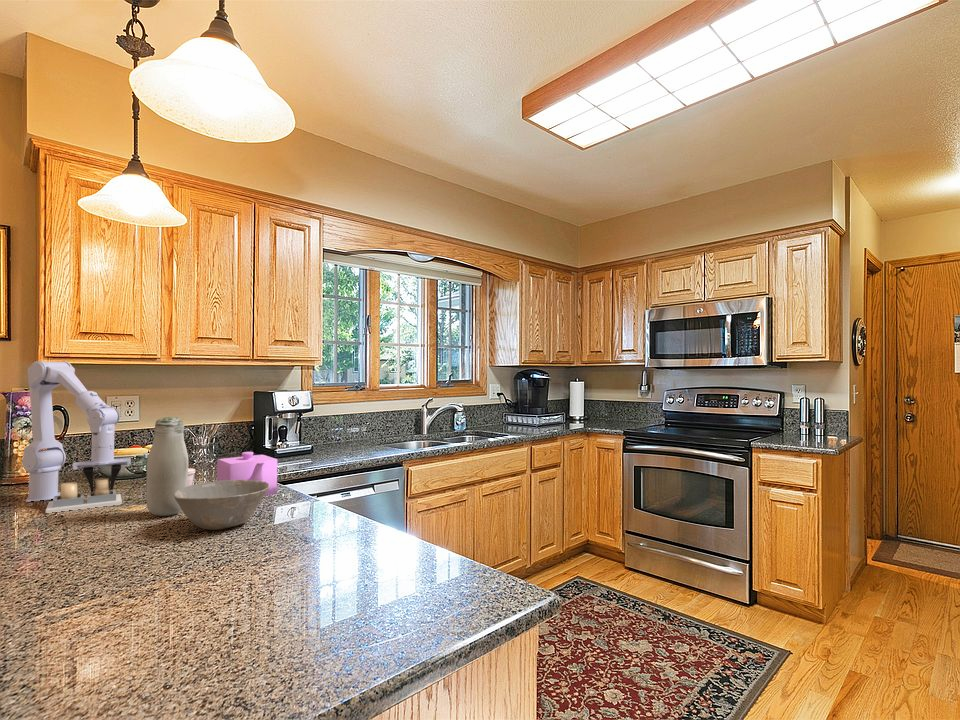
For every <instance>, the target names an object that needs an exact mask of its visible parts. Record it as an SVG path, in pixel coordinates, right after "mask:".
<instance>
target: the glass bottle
mask: <svg viewBox="0 0 960 720" xmlns="http://www.w3.org/2000/svg"><path fill="white" fill-rule="evenodd" d="M184 431H185V424H184V422H183V419H181V418H179V417H177V416H175V417H174V416H165V417H161V418H158V419H157V420H156V422H155V424H154V436H153V441H152V444H151V447H150V450H149V452H148V456H147V460H146V487H145V488H146V491H145V492H146V497H145V498H146V499H145V500H146V507H147V510H148V511H149V513H151V514H152V515H154V516H158V517H168V516H172V515H176V514H178V513H180V512H181V511H182V510H181V508H180V506H179V504H178V503H177V501H176V500H175V498H174V493H175V492H176V491H177V490H179V489H181V488H184V487H187V477H188V468H189V454H188V450H187V445H186V443H185V437H184V436H185V435H184Z"/></svg>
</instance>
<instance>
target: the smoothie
mask: <svg viewBox="0 0 960 720" xmlns="http://www.w3.org/2000/svg"><path fill="white" fill-rule="evenodd" d="M195 473H196V469H195V468H193V467H192V468H190V467H188V477H187V486H190V485H194V478H195Z"/></svg>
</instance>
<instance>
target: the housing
mask: <svg viewBox="0 0 960 720" xmlns="http://www.w3.org/2000/svg"><path fill="white" fill-rule="evenodd" d="M78 486H79V483H78V482H77V481H71V482H70V481H68V482H64V483H61V484H60V496H54V499H53V500H52V501H51V500H50V501H48V504H47V506H46V509H45V514H46V513H49V514H53V513H52V512H57V513H62V512H61V511H65V512H70V511H69V510H73V511H79V510H78V509H82V510H88V509H87V508H90V509H96V508H95V507H98V508H104V507H103V506H107V507H113V505H115V506H121V505H120V504H122V505H123V501H122V500H123V499H122V496H121V495H122V494H121V493H118V494H117V491H116V489H113V490H110V494H107V495H98V496H94V492H91V491H90V492H87V494H86V495H87V497H85V493H84V492H81V493H78V488H79V487H78Z"/></svg>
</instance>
